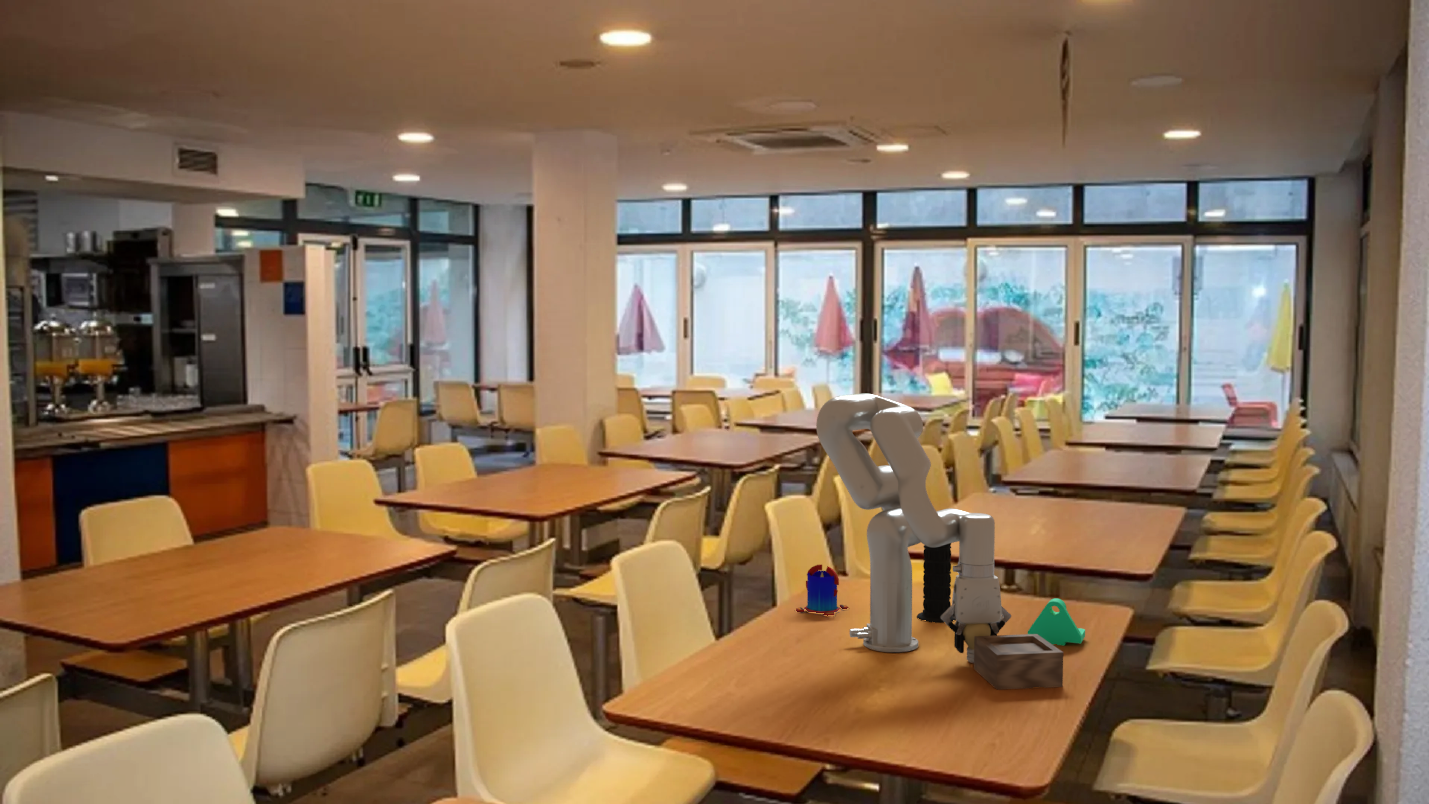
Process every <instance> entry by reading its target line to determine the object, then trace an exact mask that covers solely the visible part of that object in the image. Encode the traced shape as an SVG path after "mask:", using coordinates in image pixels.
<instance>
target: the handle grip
mask: <svg viewBox="0 0 1429 804" xmlns="http://www.w3.org/2000/svg"><path fill="white" fill-rule="evenodd" d="M951 545H952V543H949V544H946V545H943V546H940V547H928V546H926V545H924V544H923V548H924V549H923V561H924V562H923V564H922V565H923V566H922V567H923V583H922V585H923V589H922V593H923V596H922V598H923V602H922V606H923V610H922V612H920V613H918V614H917V615H916V619H918V618H919V619H921V620H920V621H922V620H926V621H929V622H928V623H932V622H935V623H934V624H937V623H938V624H943V623H944V621H943V620H942V619H941V615H942V614H943V613H944V612H945V611H946V610H947V609H948V608H949V607H950V606H951V605H952V602H951V601H950V600H951V598H952V597H951V594H952V590H951V586H952V584H951V582H952V577H951V574H952V572H951V569H952V563H951V562H952V559H951V557H952V550H951V549H952V546H951ZM919 619H918V620H919ZM950 620H951V621H952V622H954V621H953V620H955V621H956V619H955V618H953V617H952V616H951V617H950ZM926 621H925V622H926ZM944 624H945V623H944Z"/></svg>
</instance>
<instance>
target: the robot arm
mask: <svg viewBox="0 0 1429 804" xmlns="http://www.w3.org/2000/svg"><path fill="white" fill-rule="evenodd" d="M815 425H816V434H817V437H818V438H817V439H818V440H819V443H820V444H821V447H822V449H823V450H824V451H825V453H826V454H827V456H828V458H829V460H830V461H831V462H832V464H833V466H834V467H835V469H836V472H837V474H838V475H839V477H840V479H841V481H842V484H844V486H845V488H846V490H847V491H848V493H849V495H850V497H851V499H852V501H853V502H854V503H855V505H856V506H857V507H858V508H860V509H862V510H865V511H866V510H867V511H868V510H869V511H870V510H876V509H880V508H881V509H882V511H879V512H878V513H875V515H874V516H873V517H872V518H871V519H870V520H869V522H868V525H867V528H866V540H867V545H868V546H867V547H868V553H869V563H870V565H869V567H870V569H869V570H870V571H869V573H870V574H869V575H870V577H869V578H870V594H869V595H870V596H869V598H870V601H869V602H870V603H869V606H870V608H869V610H870V611H869V612H870V614H869V620H870V621H869V622H870V623H866V626H865V627H862V628H850V629H849V637H850V638H857V639H858V640H859V639H860V640H861V639H862V640H863V643H862V644H863V646H865V648H868V649H869V650H873V651H876V652H883V653H905V652H910V651H913V650H916V649H918V647H919V640H918V639H917V638H915V637H914V636H913V632H912V630H913V622H912V621H913V611H912V610H913V567H912V566H913V565H912V561H911V557H910V554H909V549H908V548H910V547H912V546H915V545H918V544H923V546H924V545H926V546H928V547H940V546H943V545H946V544H949V543H951V544H952V543H953V544H954V543H957V542H959V547H958V548H959V549H958V550H959V551H958V561H957V564H956V565H953V566H952V571H953V573H958V574H957V575H955V580H954V584H953V591H952V597H951V598H952V600H951V606H950V607H949V608H948V609H947V610H946V611H945V612H944V613H943V614H942V615H941V619H942V620H943V621H944V622H945V623H944V624H945V625H946V626H947V627H948V628H949V629H951V631H952V632H953V633H954V642H953V643H954V649H956V651H957V652H958V653H959V654H964V653H965V641H964V635H962V631H963V629H964V627H965V625H966V624H984V623H988V624H989V626H990V629H991V634H990V636H996V635H999V633H1000V631H1001V630H1002V628H1003V627H1004V626H1005V625H1006V624H1007V623H1008V622H1009V621H1010V619H1011V618H1012V615H1011V613H1010V612H1008V610H1007V609H1006V608H1004V606H1002V595H1001V587H1000V582H999V577H998V576H996V575H995V545H996V544H995V543H996V542H995V538H996V535H995V533H996V531H995V528H996V526H995V524H996V522H995V519H994V517H993V516H992V515H990V514H987V513H983V512H982V513H981V512H968V511H964V510H961V509H957V508H951V507H950V508H944V509H940V510H936V509H935V507H934V504H933V503H932V502H931V499H930V497H929V495H928V492H927V491H928V490H927V486H926V485H927V483H926V481H927V477H928V473H929V471H930V469H931V467H932V463H931V460H930V458H929V456H928V454H927V453H926V451H925V450H924V448H923V446H922V445H921V442H920V441H919V439H918V438H920V436H921V434H922V432H923V429H924V422H923V419H922V417H921V415H920V414H919V412H918V411H917V410H916V409H915V408H913V407H911V406H909V405H906V404H904V403H903V404H902V403H901V402H898V401H897V402H896V401H894V400H891V399H888V398H885V397H882V396H879V395H875V394H871V393H865V392H864V393H855V394H843V395H838V396H834V397H832V398H830V399H829V400H826V402H824V404H822V406H821V407H820V410H819V412H818V414H817V418H816V424H815ZM860 430H869V431H870V433H871V435H872V436H873V439H874V440H875V442H876V444H877V446H878V447H879V450H880V452H881V453H882V455H883V457H884V459H885V460H886V462H887V465H879V466H878V465H877V464H876V463H875V461H874V460H873V458H872V457H871V455H870V453H869V451H868V449H867V448H866V446H865V445H864V444H863V443H862V442H861V440H859V439H858V438H857V436H855V435H854V434H853V433H854V432H853V431H860ZM951 616H952V617H953V618H955V619H956V620H955V621H951V620H950V617H951Z"/></svg>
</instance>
